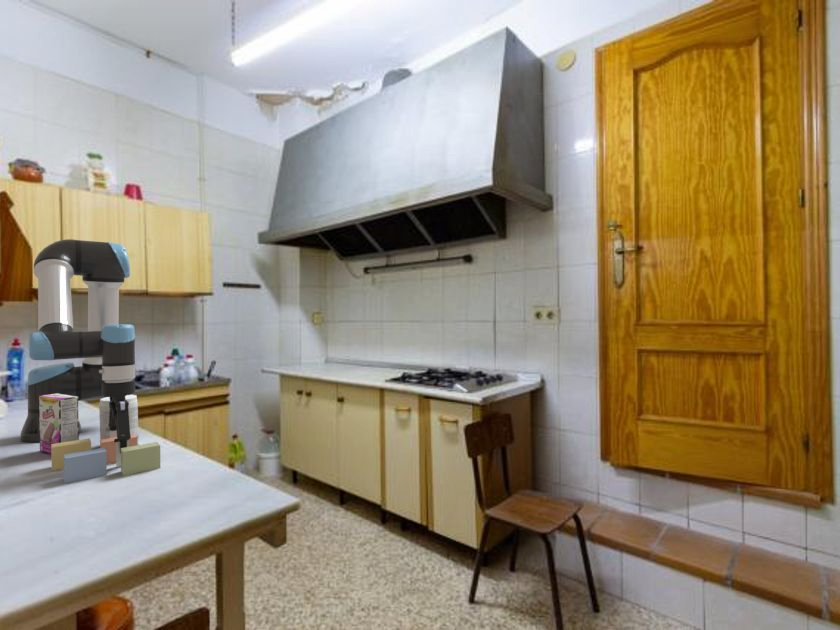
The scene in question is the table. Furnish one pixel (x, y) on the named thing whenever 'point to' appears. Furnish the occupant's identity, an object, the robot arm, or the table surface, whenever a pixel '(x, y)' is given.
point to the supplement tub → (106, 410)
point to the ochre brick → (67, 451)
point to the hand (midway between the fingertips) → (119, 459)
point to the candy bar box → (57, 420)
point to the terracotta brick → (111, 447)
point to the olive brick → (140, 458)
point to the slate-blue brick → (85, 465)
